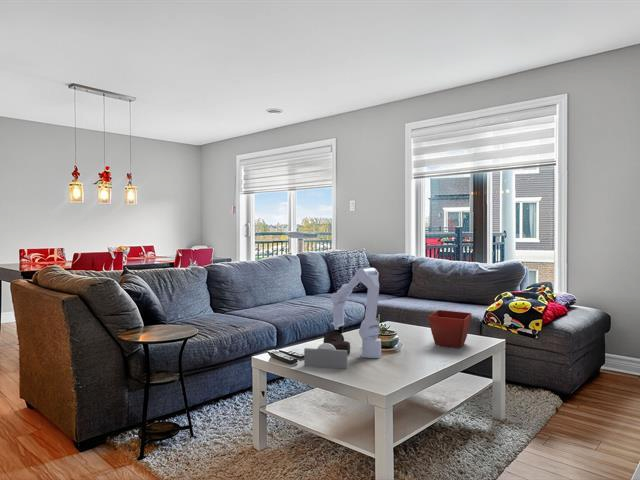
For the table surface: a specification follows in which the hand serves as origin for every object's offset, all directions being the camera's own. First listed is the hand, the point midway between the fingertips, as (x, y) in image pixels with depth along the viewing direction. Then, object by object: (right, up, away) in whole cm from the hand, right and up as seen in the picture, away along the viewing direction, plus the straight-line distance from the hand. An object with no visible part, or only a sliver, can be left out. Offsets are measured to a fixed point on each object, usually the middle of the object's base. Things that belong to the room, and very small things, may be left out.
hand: (338, 340), depth 250 cm
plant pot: (+61, -4, +4) cm, 62 cm away
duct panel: (-7, -5, -34) cm, 35 cm away
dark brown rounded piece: (-2, -5, -9) cm, 10 cm away
